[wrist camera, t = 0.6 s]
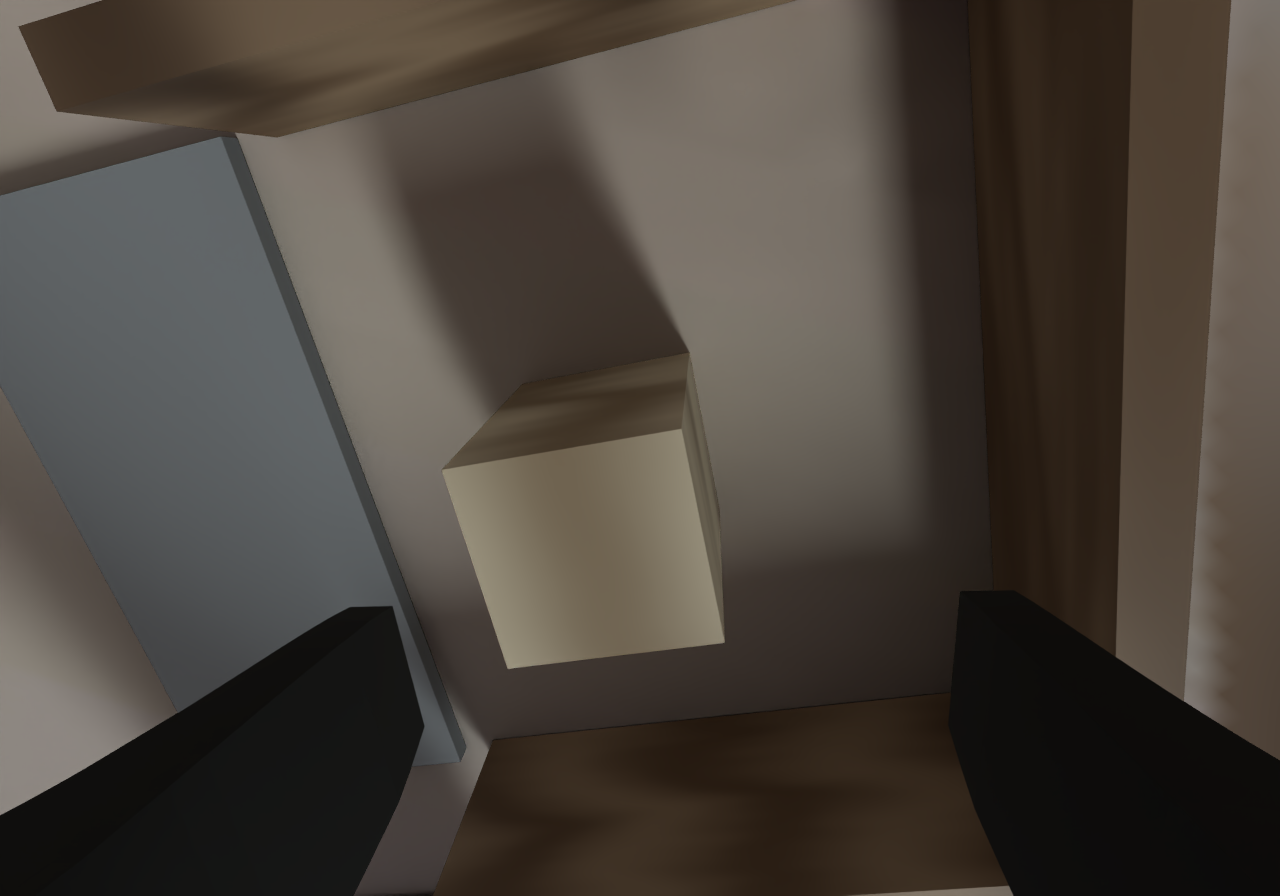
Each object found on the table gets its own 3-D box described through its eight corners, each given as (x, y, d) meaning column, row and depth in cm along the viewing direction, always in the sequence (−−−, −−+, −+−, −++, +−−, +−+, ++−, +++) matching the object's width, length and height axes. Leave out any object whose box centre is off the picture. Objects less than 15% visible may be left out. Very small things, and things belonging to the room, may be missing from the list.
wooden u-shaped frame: (502, 767, 23) (437, 954, 17) (257, 82, 16) (17, 26, 10) (1042, 715, 20) (1168, 915, 15) (1026, -133, 13) (1255, -360, 8)
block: (564, 532, 20) (507, 668, 14) (522, 383, 18) (441, 470, 13) (719, 509, 19) (724, 643, 13) (689, 352, 17) (681, 429, 12)
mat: (228, 772, 24) (217, 785, 24) (-66, 219, 18) (-90, 219, 17) (466, 747, 23) (460, 761, 22) (236, 138, 17) (220, 136, 16)
